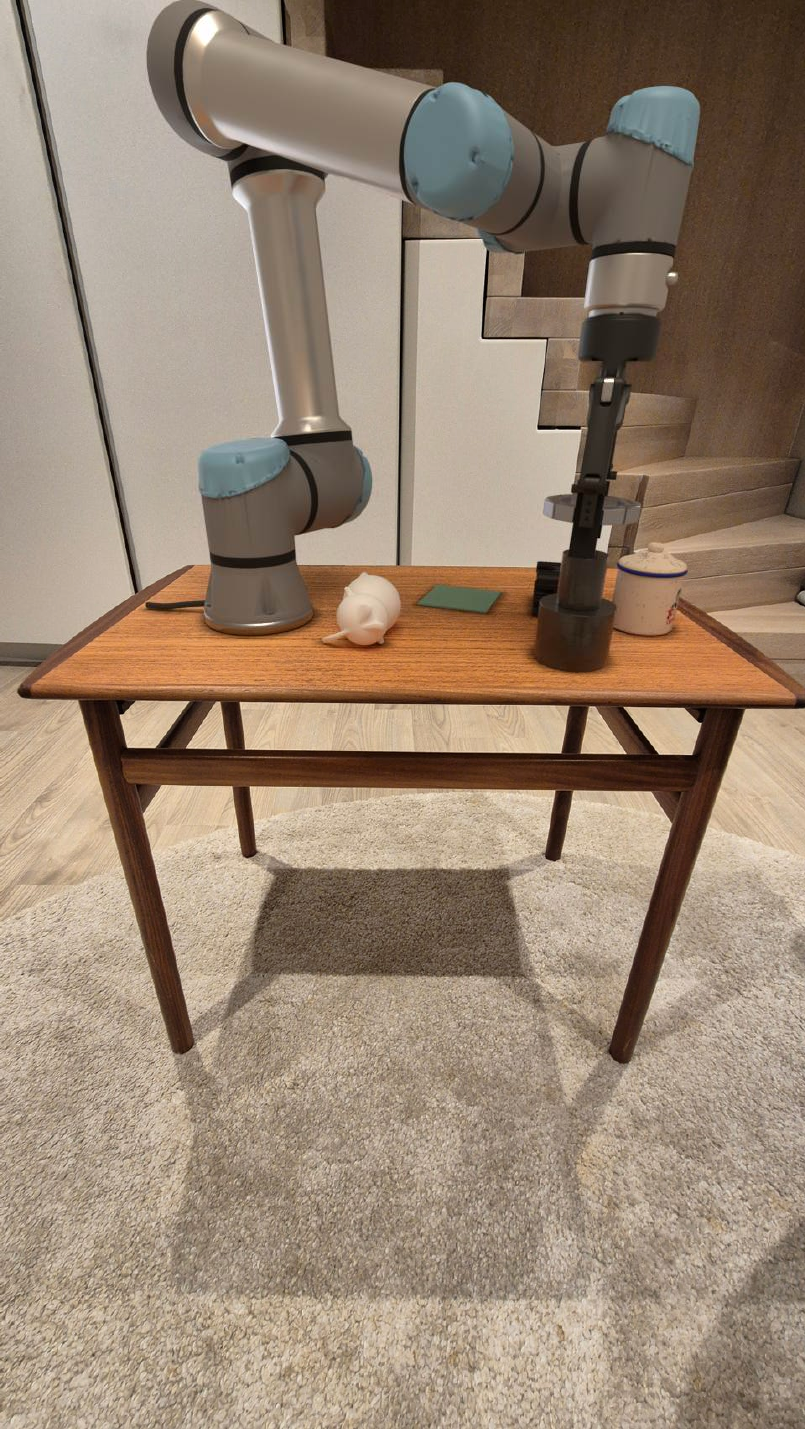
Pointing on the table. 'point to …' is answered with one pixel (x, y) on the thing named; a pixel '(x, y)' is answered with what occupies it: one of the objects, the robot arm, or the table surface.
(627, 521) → the segmented gray ring
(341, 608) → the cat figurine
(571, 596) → the dark stepped cylinder
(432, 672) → the table surface
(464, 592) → the mat
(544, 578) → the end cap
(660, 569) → the teacup with lid
